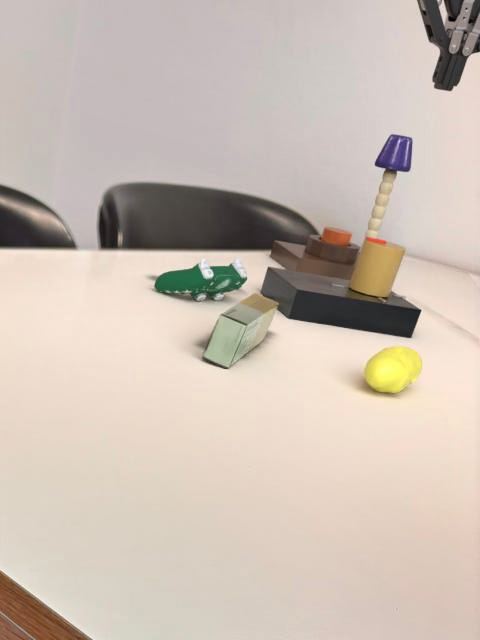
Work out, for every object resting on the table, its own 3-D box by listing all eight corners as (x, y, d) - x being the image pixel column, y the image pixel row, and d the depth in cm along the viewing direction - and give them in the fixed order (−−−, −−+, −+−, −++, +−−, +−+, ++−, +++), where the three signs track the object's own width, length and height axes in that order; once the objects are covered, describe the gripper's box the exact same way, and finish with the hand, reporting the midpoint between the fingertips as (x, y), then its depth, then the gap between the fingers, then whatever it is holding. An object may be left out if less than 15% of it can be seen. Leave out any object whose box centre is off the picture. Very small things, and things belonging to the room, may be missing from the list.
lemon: (425, 393, 95) (442, 350, 93) (386, 404, 89) (403, 359, 87) (382, 377, 97) (398, 334, 95) (342, 387, 91) (357, 342, 89)
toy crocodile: (161, 313, 111) (203, 285, 106) (149, 279, 111) (190, 249, 106) (217, 311, 116) (259, 284, 112) (206, 278, 117) (247, 250, 112)
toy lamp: (343, 265, 146) (386, 133, 138) (341, 259, 150) (383, 130, 142) (377, 273, 146) (423, 141, 137) (375, 267, 150) (419, 138, 141)
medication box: (229, 370, 90) (247, 325, 88) (200, 358, 90) (217, 313, 88) (263, 342, 99) (280, 300, 97) (236, 331, 100) (253, 289, 98)
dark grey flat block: (377, 312, 122) (387, 284, 120) (414, 338, 114) (425, 308, 112) (259, 293, 120) (268, 264, 118) (288, 318, 111) (298, 287, 110)
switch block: (352, 271, 143) (363, 240, 141) (382, 290, 135) (393, 258, 133) (269, 257, 141) (278, 225, 139) (293, 275, 133) (304, 242, 131)
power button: (341, 243, 138) (346, 229, 137) (352, 250, 135) (356, 235, 134) (315, 239, 138) (320, 225, 137) (325, 245, 134) (330, 231, 134)
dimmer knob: (380, 289, 118) (398, 240, 115) (394, 299, 114) (413, 248, 111) (343, 283, 117) (359, 233, 114) (356, 293, 113) (373, 241, 111)
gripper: (459, -97, 114) (402, 84, 123) (573, -74, 115) (508, 102, 125) (430, -95, 120) (378, 77, 129) (538, -74, 122) (479, 95, 131)
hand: (442, 89), depth 127 cm, fingers closed
